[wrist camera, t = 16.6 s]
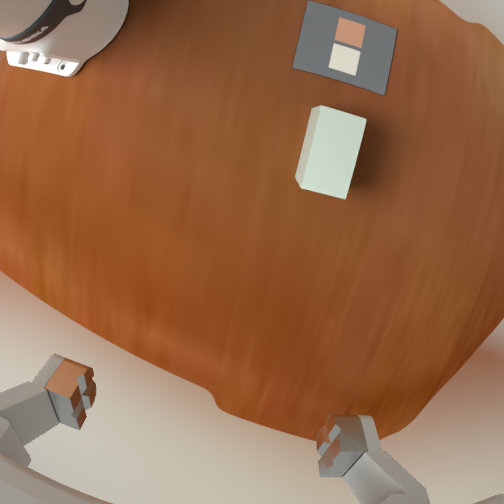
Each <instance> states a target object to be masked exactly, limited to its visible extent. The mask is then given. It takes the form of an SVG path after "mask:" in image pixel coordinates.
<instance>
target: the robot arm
mask: <svg viewBox="0 0 504 504" xmlns="http://www.w3.org/2000/svg"><path fill="white" fill-rule="evenodd" d="M128 4H129V0H0V50H1V51H7V59H8V63H9V64H10V65H13V66H17V67H23V68H28V69H33V70H38V71H43V72H48V73H52V74H57V75H61V76H66V77H72V76H74V75H75V74H76V73H77V72H78V71H79V69H80V68H81V67H82V65H83V64H84V63H85V61H87V60H88V59H89V58H90V57H92V56H93V55H95V54H96V53H98V52H99V51H101V50H102V49H103V48H104V47H105V46H106V45H107V44H108V43H109V42H110V41H111V40H112V39H113V38H114V37H115V35H116V34H117V32H118V31H119V29H120V28H121V26H122V24H123V22H124V20H125V17H126V14H127V11H128ZM64 65H65V68H64V69H63V67H64ZM93 376H94V373H93V369H92V368H91V367H88V366H85V365H83V364H80V363H78V362H75V361H72V360H70V359H67V358H65V357H62V356H60V355H57V354H53V355H52V356H51V357H50V358H49V359H48V361H47V362H46V363H45V365H44V366H43V367H42V369H41V370H40V371H39V373H38V374H37V376H36V377H35V379H34V380H33V381H32V383H30V382H26V383H23V384H21V385H19V386H16V387H14V388H11V389H9V390H7V391H4V392H2V393H0V504H112V503H109V502H106V501H103V500H100V499H97V498H95V497H92V496H90V495H87V494H84V493H82V492H80V491H77V490H75V489H72V488H70V487H68V486H65V485H63V484H61V483H59V482H57V481H54V480H52V479H50V478H48V477H46V476H44V475H42V474H40V473H38V472H36V471H34V470H32V469H30V468H28V466H29V464H30V462H31V458H30V456H29V454H28V453H27V451H26V449H25V448H24V446H25V445H26V444H28V443H29V442H31V441H32V440H34V439H36V438H37V437H39V436H40V435H42V434H44V433H45V432H47V431H48V430H50V429H51V428H53V427H55V426H56V425H58V424H59V422H60V423H62V424H65V425H68V426H70V427H73V428H75V429H78V430H80V429H81V427H82V425H83V423H84V421H85V419H86V417H87V416H86V412H85V410H87V409H89V408H91V407H92V405H93V403H94V400H95V396H96V384H95V382H94V381H93V380H92V377H93ZM326 423H327V425H326V426H324V427H322V428H321V430H320V432H319V433H318V437H317V451H318V453H319V454H320V455H321V456H322V457H321V458H320V460H319V461H318V463H319V472H320V477H342V479H343V480H344V482H345V483H346V484H347V486H348V487H349V488H350V490H351V491H352V492H353V493H354V495H355V496H356V497H357V499H358V500H359V501H360V503H361V504H430V502H429V498H428V495H427V491H426V488H425V487H424V486H422V484H420V483H419V482H418V481H417V480H416V479H415V478H414V477H413V476H412V475H411V474H410V473H408V472H407V471H406V470H405V469H404V468H403V467H402V466H401V465H400V464H399V463H398V462H397V461H396V460H394V459H393V458H392V457H391V456H390V455H389V454H388V453H387V452H386V451H382V448H381V445H380V441H379V438H378V434H377V431H376V427H375V424H374V420H373V418H372V417H371V416H357V415H337V414H331V415H330V416H329V417H328V418H327V420H326ZM474 504H504V494H498V495H495V496H492V497H490V498H488V499H485V500H482V501H479V502H477V503H474Z"/></svg>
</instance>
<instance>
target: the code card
mask: <svg viewBox="0 0 504 504" xmlns="http://www.w3.org/2000/svg"><path fill="white" fill-rule="evenodd" d="M396 34H397V29H394V28H392V27H389V26H387V25H384V24H382V23H379V22H377V21H374V20H371V19H368V18H366V17H363V16H360V15H357V14H354V13H351V12H348V11H344V10H341V9H338V8H335V7H331V6H328V5H324V4H320V3H317V2H313V1H309V0H308V2H307V7H306V11H305V15H304V19H303V24H302V28H301V32H300V37H299V41H298V45H297V49H296V54H295V58H294V62H293V67H292V68H295V69H299V70H303V71H307V72H311V73H314V74H318V75H322V76H325V77H329V78H332V79H336V80H339V81H342V82H345V83H349V84H352V85H355V86H358V87H361V88H364V89H367V90H370V91H372V92H375V93H378V94H381V95H383V96H384V95H385V91H386V86H387V81H388V76H389V71H390V66H391V61H392V56H393V51H394V45H395V40H396Z"/></svg>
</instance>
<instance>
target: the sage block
mask: <svg viewBox="0 0 504 504" xmlns="http://www.w3.org/2000/svg"><path fill="white" fill-rule="evenodd" d="M366 120H367V119H365V118H362V117H358V116H355V115H352V114H349V113H346V112H343V111H339V110H336V109H332V108H329V107H325V106H322V105H321V106H318V107H315V108H312V110H311V114H310V118H309V122H308V127H307V131H306V135H305V139H304V143H303V147H302V151H301V156H300V160H299V164H298V168H297V172H296V176H295V178H296V180H297V182H298V184H299V186H300V188H302V189H307V190H311V191H315V192H319V193H323V194H326V195H330V196H334V197H338V198H342V199H346V196H347V192H348V189H349V185H350V182H351V178H352V175H353V171H354V167H355V164H356V160H357V156H358V152H359V148H360V145H361V141H362V137H363V133H364V129H365V125H366Z"/></svg>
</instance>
